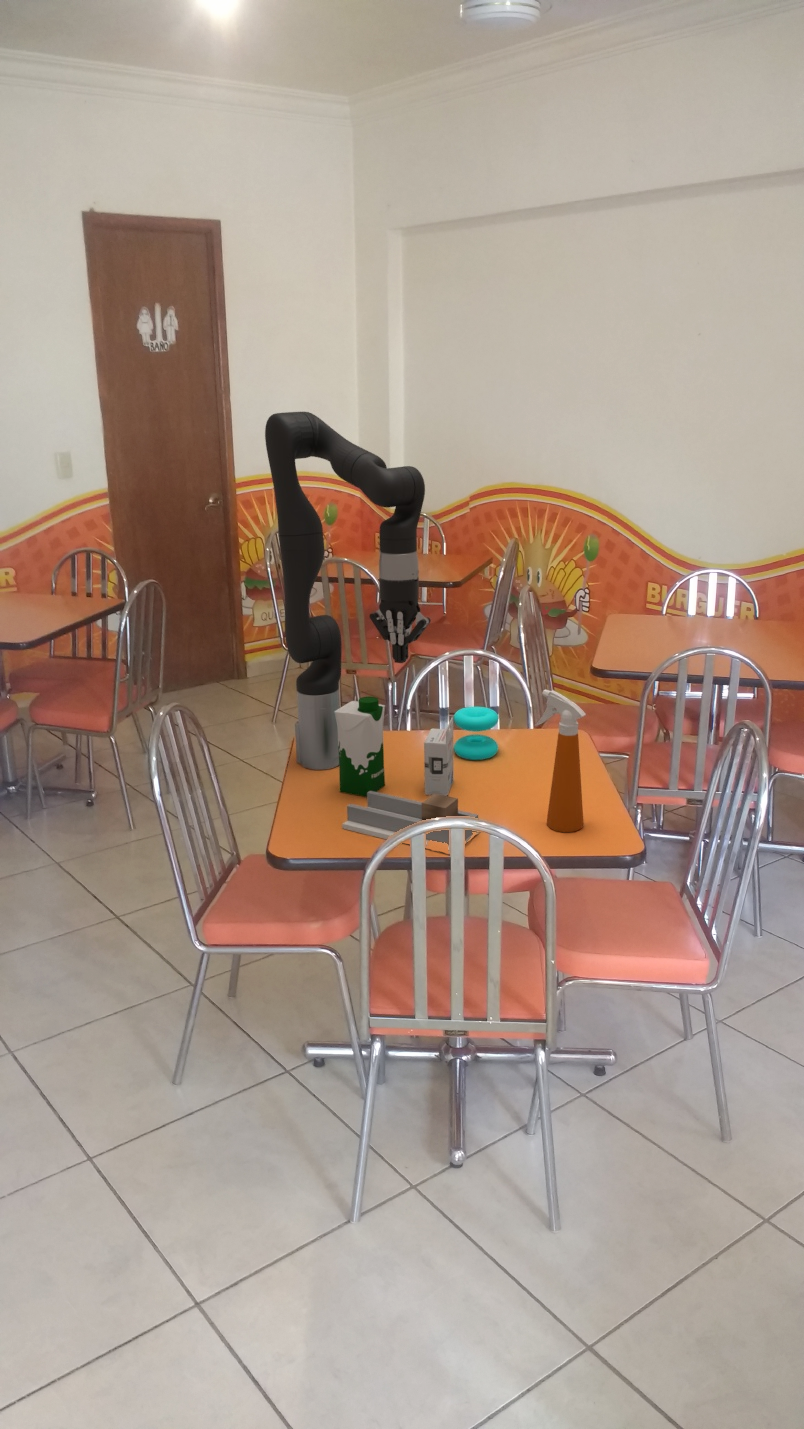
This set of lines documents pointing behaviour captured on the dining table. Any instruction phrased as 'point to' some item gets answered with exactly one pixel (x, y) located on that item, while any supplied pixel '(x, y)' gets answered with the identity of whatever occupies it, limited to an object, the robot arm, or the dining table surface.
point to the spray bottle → (565, 765)
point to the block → (439, 806)
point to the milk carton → (361, 746)
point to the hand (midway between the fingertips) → (400, 662)
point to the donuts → (475, 744)
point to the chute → (392, 817)
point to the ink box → (439, 760)
